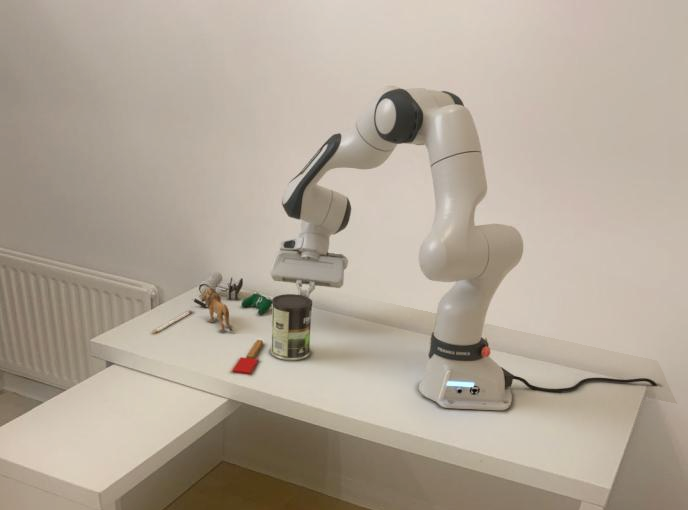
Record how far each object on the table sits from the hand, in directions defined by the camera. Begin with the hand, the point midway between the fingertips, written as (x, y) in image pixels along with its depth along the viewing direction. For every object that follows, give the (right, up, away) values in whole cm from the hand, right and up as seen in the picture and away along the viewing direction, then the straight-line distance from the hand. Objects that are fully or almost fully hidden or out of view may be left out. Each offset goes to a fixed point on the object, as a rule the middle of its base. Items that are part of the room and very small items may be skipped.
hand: (303, 297), depth 204 cm
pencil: (-37, -5, +7) cm, 38 cm away
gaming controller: (-14, +2, +18) cm, 23 cm away
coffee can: (-3, -17, -6) cm, 18 cm away
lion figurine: (-24, -6, +7) cm, 26 cm away
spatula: (-14, -19, -10) cm, 25 cm away
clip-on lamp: (-26, +6, +24) cm, 36 cm away
